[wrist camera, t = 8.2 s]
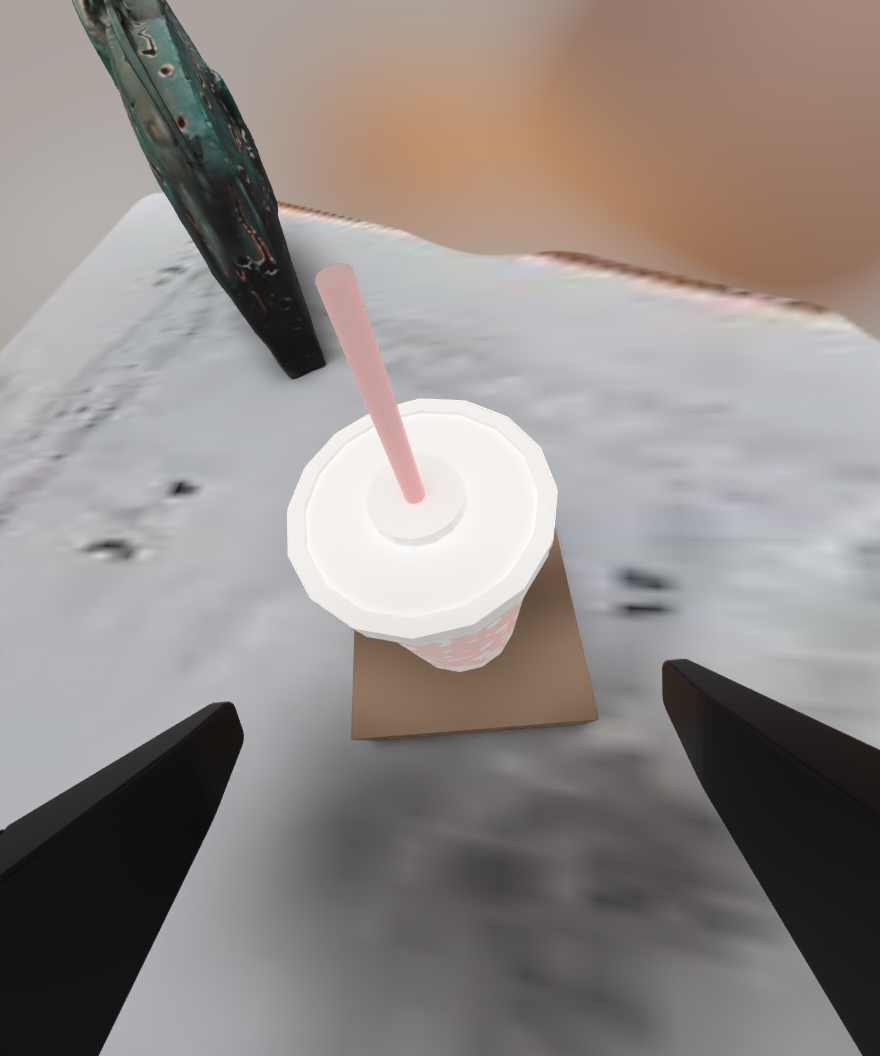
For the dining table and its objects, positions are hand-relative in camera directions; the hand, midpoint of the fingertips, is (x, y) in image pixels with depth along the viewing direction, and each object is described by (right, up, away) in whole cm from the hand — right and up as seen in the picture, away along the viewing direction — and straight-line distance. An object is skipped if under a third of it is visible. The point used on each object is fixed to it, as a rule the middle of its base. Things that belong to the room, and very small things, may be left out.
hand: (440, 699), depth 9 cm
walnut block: (+1, -1, +11) cm, 11 cm away
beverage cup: (+1, 0, +9) cm, 9 cm away
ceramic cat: (-13, +22, +26) cm, 36 cm away
